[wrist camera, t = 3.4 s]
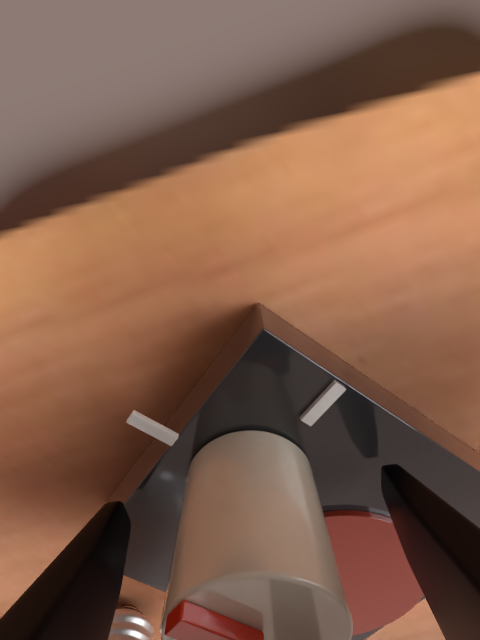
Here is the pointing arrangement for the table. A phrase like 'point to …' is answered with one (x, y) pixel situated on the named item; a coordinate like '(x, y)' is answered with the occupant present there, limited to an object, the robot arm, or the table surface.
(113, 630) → the lightbulb
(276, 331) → the hob
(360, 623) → the burner zone
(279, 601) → the hob knob
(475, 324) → the table surface
